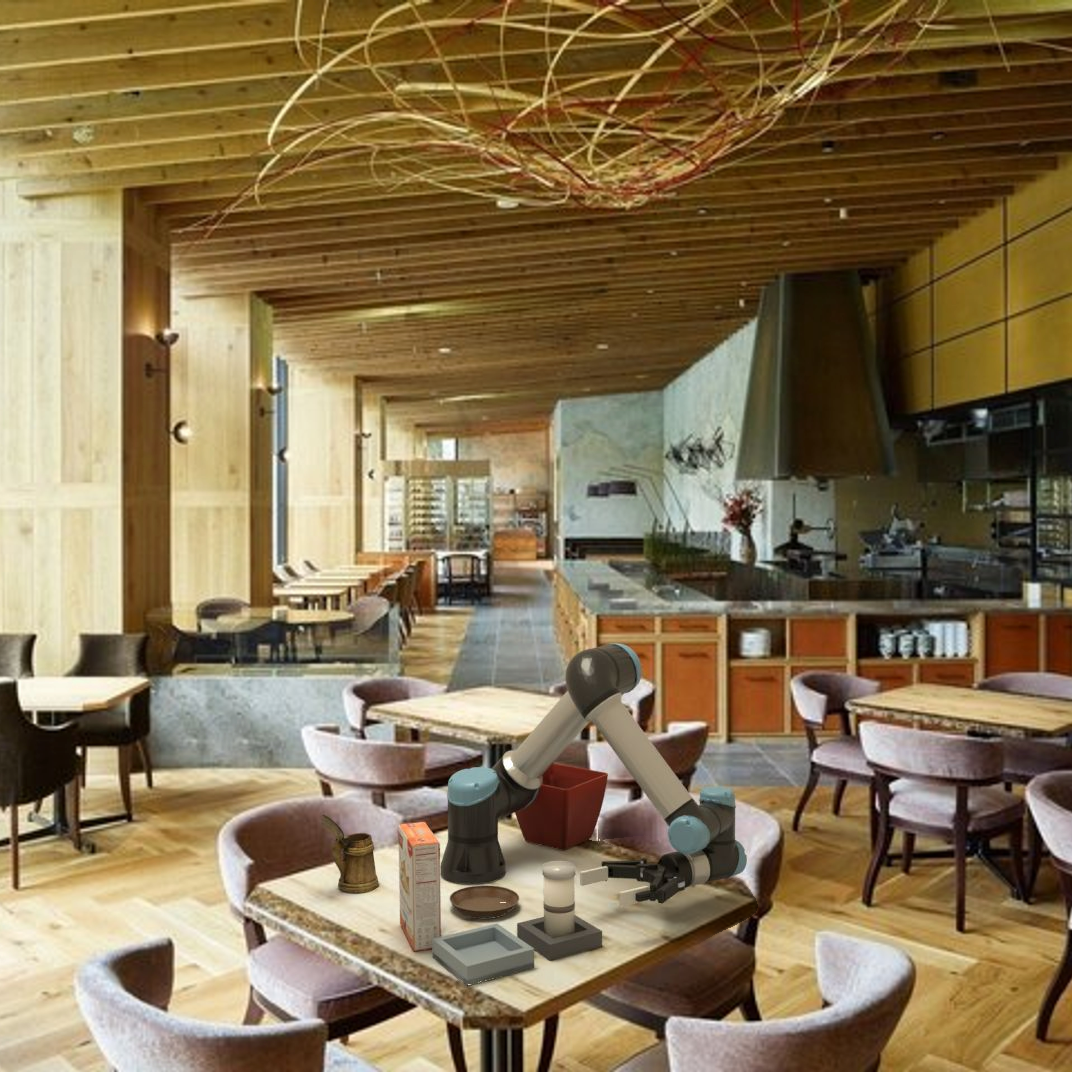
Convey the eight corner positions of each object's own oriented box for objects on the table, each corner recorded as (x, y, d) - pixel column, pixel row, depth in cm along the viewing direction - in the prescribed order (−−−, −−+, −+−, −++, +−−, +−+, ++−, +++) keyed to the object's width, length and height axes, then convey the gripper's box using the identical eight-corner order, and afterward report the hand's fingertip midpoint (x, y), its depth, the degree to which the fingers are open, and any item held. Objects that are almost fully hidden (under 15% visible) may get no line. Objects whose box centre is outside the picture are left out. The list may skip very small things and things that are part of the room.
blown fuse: (536, 940, 203) (536, 864, 203) (563, 933, 207) (563, 858, 206) (554, 952, 198) (554, 874, 197) (582, 944, 201) (581, 868, 201)
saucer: (513, 894, 228) (513, 882, 228) (524, 920, 214) (524, 907, 214) (446, 899, 226) (446, 886, 226) (452, 925, 211) (452, 912, 211)
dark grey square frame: (517, 938, 204) (517, 923, 204) (567, 925, 210) (568, 910, 210) (549, 960, 194) (549, 944, 194) (602, 946, 200) (602, 931, 200)
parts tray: (432, 957, 196) (432, 938, 196) (496, 940, 203) (496, 923, 203) (467, 986, 184) (466, 966, 184) (534, 967, 191) (534, 948, 191)
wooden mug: (312, 891, 230) (312, 810, 230) (364, 876, 239) (364, 799, 239) (333, 902, 224) (333, 819, 223) (386, 886, 233) (385, 807, 232)
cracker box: (397, 925, 211) (397, 823, 210) (426, 921, 213) (426, 820, 212) (411, 953, 198) (410, 844, 197) (442, 948, 199) (441, 840, 199)
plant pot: (566, 857, 252) (566, 788, 251) (505, 842, 263) (505, 776, 263) (610, 837, 267) (609, 772, 267) (550, 824, 279) (550, 762, 278)
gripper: (722, 905, 208) (638, 928, 197) (646, 869, 229) (566, 888, 218) (722, 868, 208) (638, 889, 196) (646, 836, 229) (565, 853, 218)
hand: (600, 888), depth 207 cm, fingers open, 13 cm apart
